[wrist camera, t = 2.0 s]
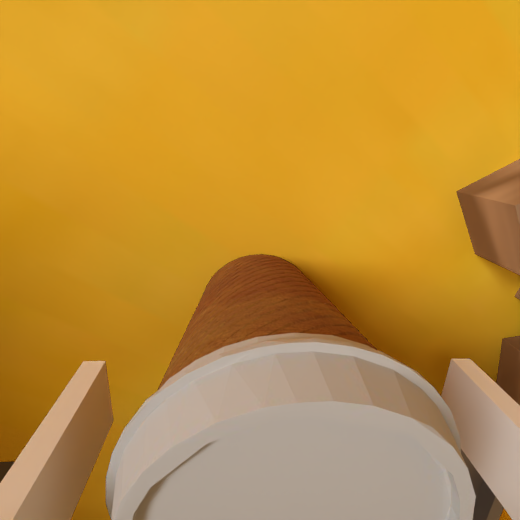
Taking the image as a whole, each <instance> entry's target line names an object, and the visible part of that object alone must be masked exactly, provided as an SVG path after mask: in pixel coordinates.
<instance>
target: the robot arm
mask: <svg viewBox="0 0 520 520" xmlns="http://www.w3.org/2000/svg"><path fill="white" fill-rule="evenodd" d="M441 397H442V399H443V400H444V402H445V403H446V404H447V406H448V407H449V408H450V410H451V412H452V415H453V418H454V420H455V423H456V426H457V429H458V431H459V434H460V437H461V449H462V451H463V452H464V453H465V455H466V456H467V457H468V459H469V460H470V462H471V463H472V464H473V466H474V467H475V469H476V470H477V471H478V473H479V474H480V475H481V477H482V478H483V480H484V481H485V482H486V484H487V485H488V487H489V488H490V489H491V491H492V492H493V493H494V495H495V496H496V498H497V499H498V500H499V502H500V503H501V504H502V506H503V507H504V509H505V510H506V511H507V513H508V514H509V516H510V517H511V518H512V520H520V405H519V404H517V403H516V402H515V401H514V400H513V399H512V398H511V397H510V396H509V395H508V394H507V393H506V392H505V391H504V390H503V389H502V388H501V387H500V386H498V385H497V384H496V383H495V382H494V381H493V380H492V379H491V378H490V377H489V376H488V375H487V374H486V373H485V372H484V371H483V370H482V369H480V368H479V367H478V366H477V365H476V364H475V363H474V362H473V361H472V360H471V359H451V362H450V365H449V369H448V373H447V376H446V380H445V383H444V387H443V391H442V394H441ZM112 423H113V413H112V405H111V398H110V391H109V383H108V376H107V369H106V361H83V363H82V364H81V366H80V367H79V369H78V370H77V371H76V373H75V374H74V376H73V377H72V379H71V380H70V382H69V383H68V385H67V386H66V388H65V389H64V390H63V392H62V393H61V395H60V396H59V398H58V399H57V401H56V402H55V404H54V405H53V407H52V408H51V409H50V411H49V412H48V414H47V415H46V417H45V418H44V420H43V421H42V423H41V424H40V426H39V427H38V429H37V430H36V431H35V433H34V434H33V436H32V437H31V439H30V440H29V442H28V443H27V445H26V446H25V448H24V449H23V450H22V452H21V453H20V455H19V456H18V458H17V459H16V461H15V462H0V520H71V517H72V515H73V513H74V510H75V508H76V506H77V503H78V501H79V499H80V497H81V494H82V492H83V490H84V487H85V485H86V483H87V480H88V478H89V476H90V473H91V471H92V469H93V467H94V464H95V462H96V460H97V457H98V455H99V453H100V450H101V448H102V446H103V444H104V441H105V439H106V437H107V434H108V432H109V430H110V427H111V425H112Z"/></svg>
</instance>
